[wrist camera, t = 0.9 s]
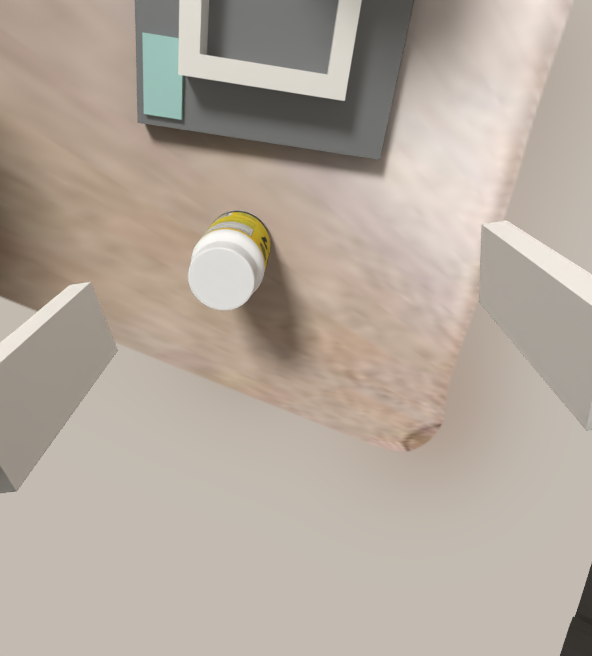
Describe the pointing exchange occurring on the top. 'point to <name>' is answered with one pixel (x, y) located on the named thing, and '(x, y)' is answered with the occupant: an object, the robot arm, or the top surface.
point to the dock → (272, 69)
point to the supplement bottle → (230, 260)
